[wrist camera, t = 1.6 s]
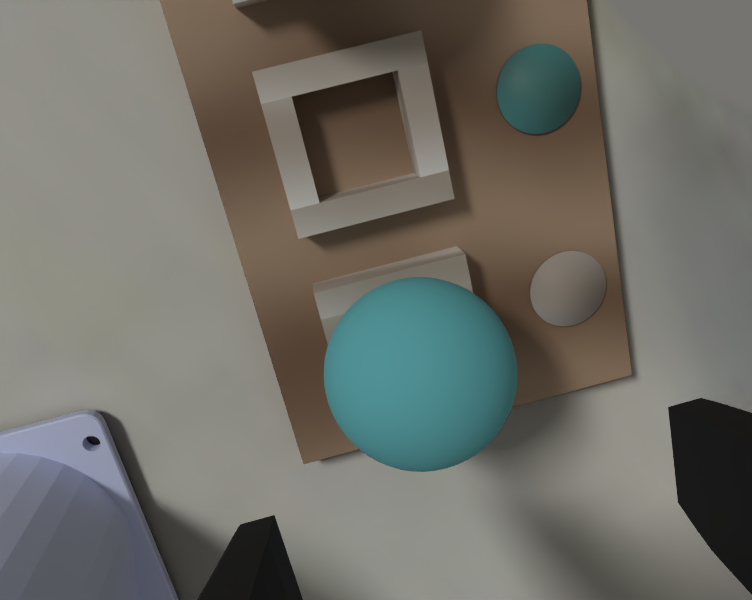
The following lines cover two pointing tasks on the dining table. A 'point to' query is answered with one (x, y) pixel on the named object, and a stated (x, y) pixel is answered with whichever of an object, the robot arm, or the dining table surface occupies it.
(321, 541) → the dining table surface
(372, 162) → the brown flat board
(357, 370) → the teal ball
